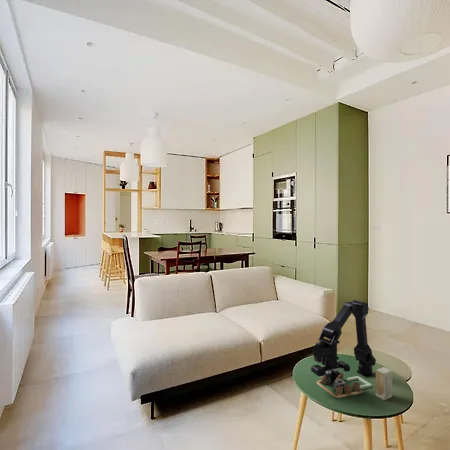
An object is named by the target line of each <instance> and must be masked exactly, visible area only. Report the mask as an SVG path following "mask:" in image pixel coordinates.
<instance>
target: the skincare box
mask: <svg viewBox="0 0 450 450" xmlns="http://www.w3.org/2000/svg"><path fill="white" fill-rule="evenodd" d="M375 396H376V397H377V398H380V399H381V400H383V401H385V400H388V399H391V398H392V397H393V370H391V369H390V368H387V367H385V366H382V367H379V368H377V369H375Z"/></svg>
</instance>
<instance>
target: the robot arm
mask: <svg viewBox="0 0 450 450" xmlns="http://www.w3.org/2000/svg"><path fill="white" fill-rule="evenodd" d="M368 314H369V304H368V303H367V302H365V301H361V300H357V299H356V300H355V299H354V300H352V301H345V302H343V306H342V307H341V309H340V310H339V312H338V313H337V314H336V316H335V317H334V319H333V320H331V321H330V322H328V323H327V324H326V325H324V327H323V328H322V330H321V333H320V334H319V337H318V341H319V342H318V341H317V342H315V345H313V347H312V348H311V353H312V355H313V359H314V360H313V361H314V362H317V364H312V366H311V367H310V371H311V372H312V373H313V374H314V375H316V376H317V377H321V376H324V375H326V378H327V385H329V387H333V383H334V382H335V380H336V378H337V377H338V376H339V374H340V372H341V371H339V369H342V370H343V371H344V372H350V371H351V366H350V365H349V364H348V363H347V362H345V361H343V360H339V359H340V358H339V356H338V344H340V343H341V342H340V338H341V335H342V333H343V331H342V329H343V326H344V325H346V324H345V323H346V322H347V320H349V319H350V318H349V317H350V316H351V315H353V316H354V319H355V330H356V341H357V343H356V345H355V347H353V352H354V353H353V354H354V357H355V361H358V365H357V367H358V368H357V369H358V370H356V372H357V373H358V374H360V375H361V376H363V377H365V378H368V377H373V376H374V377H375V376H376V373H373V366H375V365H376V363H377V359H376V358H375V357H374V355H373V351H372V348H371V347H370V345H369V344H368V333H367V323H366V322H367V320H366V317H367V316H368ZM320 364H321V365H322V366H321V365H320Z"/></svg>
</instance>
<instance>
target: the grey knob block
mask: <svg viewBox="0 0 450 450" xmlns="http://www.w3.org/2000/svg"><path fill="white" fill-rule="evenodd" d="M345 384H348V383H347V381H344V379H343V380H342V379H336V380H335V382H334V383H333V385H332V387H334V388H335V389H336V386H341V387H343V390H344V385H345Z"/></svg>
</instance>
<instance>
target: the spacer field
mask: <svg viewBox="0 0 450 450" xmlns="http://www.w3.org/2000/svg"><path fill="white" fill-rule="evenodd" d="M339 372H340V374H339V376H338V377H337V378H336V379H342V380H343V381H344V372H342V371H339ZM315 382H316V384H317V385H318V386H319V387H321V388H322V389H323V390H324V391H326V392H327V393H328V394H330V395H331V396H332V397H333V398H336V399H340V398H345V397H350V396H355V395H358V394H363V392H364V391H363V390H361V389H360V386H361V384H360V383H359V382H355V381H354V382H352V385H351V384H349V383H347V384H345V385H344V389H343V387H341V386H336V388H335V393H333V392H332V391H331V390H330V389H329V388H327V387H325V385H328V381H327V378H326V375H324V376H320V379H319V380H316V381H315ZM343 390H344V391H343ZM343 392H344V393H343Z"/></svg>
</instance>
